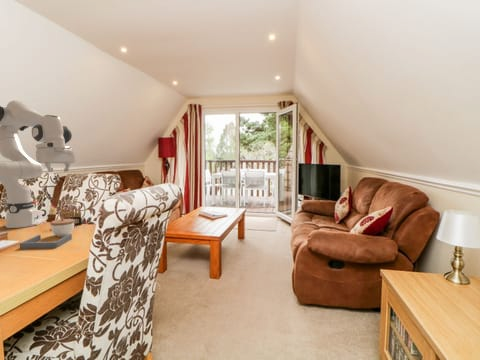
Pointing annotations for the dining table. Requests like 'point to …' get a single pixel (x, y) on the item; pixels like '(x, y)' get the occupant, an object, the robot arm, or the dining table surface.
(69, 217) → the ammunition clip
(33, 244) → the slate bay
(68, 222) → the lidded jar
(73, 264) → the dining table surface
